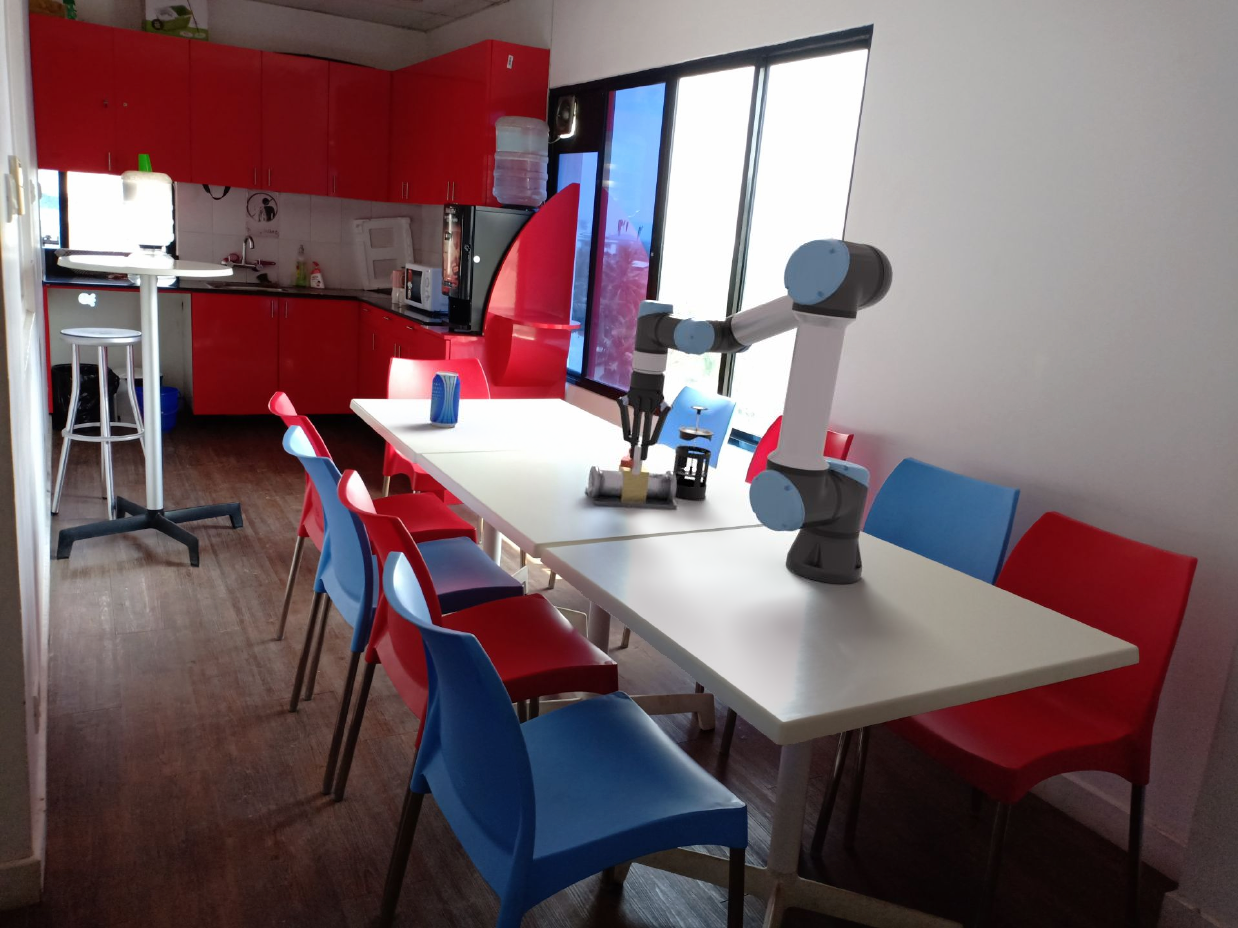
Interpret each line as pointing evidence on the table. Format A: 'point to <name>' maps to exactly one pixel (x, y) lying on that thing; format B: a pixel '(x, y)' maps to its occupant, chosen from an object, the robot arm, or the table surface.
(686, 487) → the french press
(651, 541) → the table surface
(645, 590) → the table surface
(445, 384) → the beer can
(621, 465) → the lever
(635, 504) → the valve body
